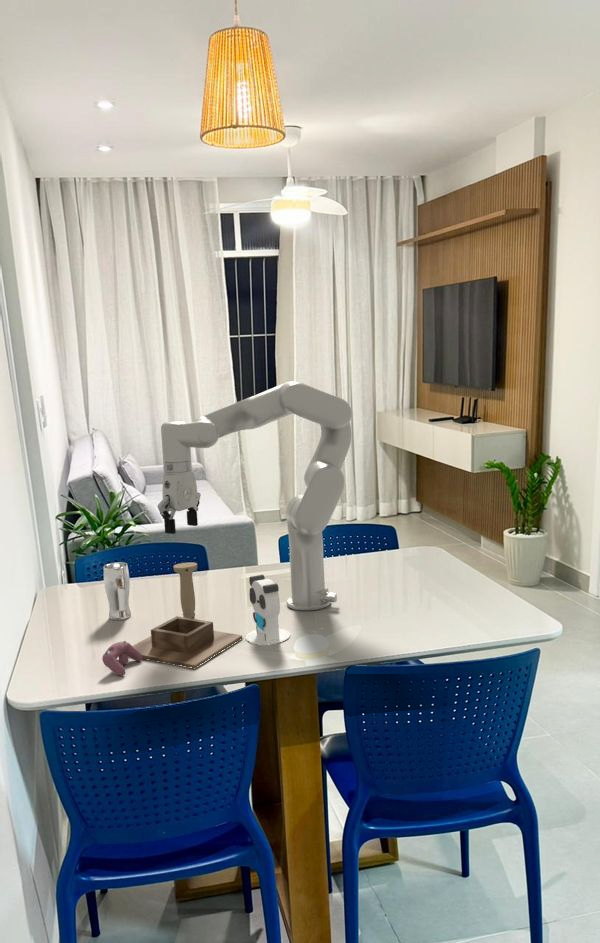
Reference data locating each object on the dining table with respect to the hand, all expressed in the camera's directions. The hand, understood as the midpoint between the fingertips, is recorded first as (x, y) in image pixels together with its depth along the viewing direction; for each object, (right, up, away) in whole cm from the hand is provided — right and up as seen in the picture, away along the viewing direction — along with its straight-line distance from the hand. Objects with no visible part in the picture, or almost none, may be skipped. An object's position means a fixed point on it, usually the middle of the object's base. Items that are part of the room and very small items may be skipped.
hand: (181, 529), depth 208 cm
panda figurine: (+24, -27, -13) cm, 38 cm away
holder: (+3, -28, -17) cm, 33 cm away
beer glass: (-19, -25, +7) cm, 32 cm away
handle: (+1, -25, +4) cm, 25 cm away
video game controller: (-9, -31, -28) cm, 43 cm away
